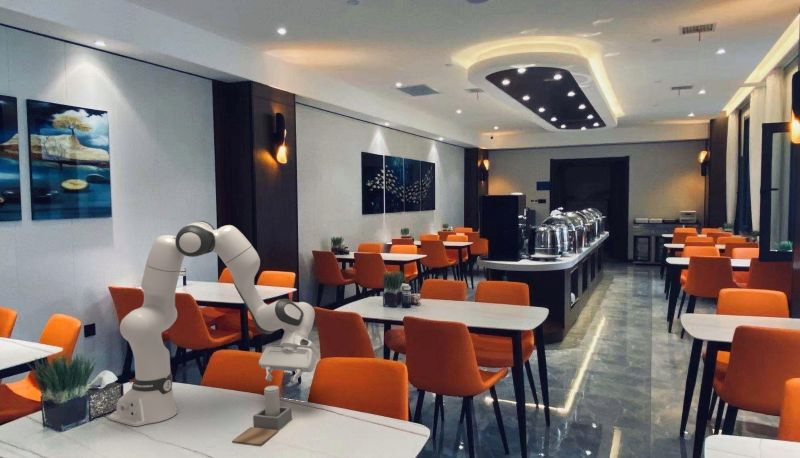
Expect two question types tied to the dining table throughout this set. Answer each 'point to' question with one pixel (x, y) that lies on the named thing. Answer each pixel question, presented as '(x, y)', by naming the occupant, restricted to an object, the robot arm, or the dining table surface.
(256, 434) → the coaster
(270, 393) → the beverage can
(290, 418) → the can holder
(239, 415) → the dining table surface
